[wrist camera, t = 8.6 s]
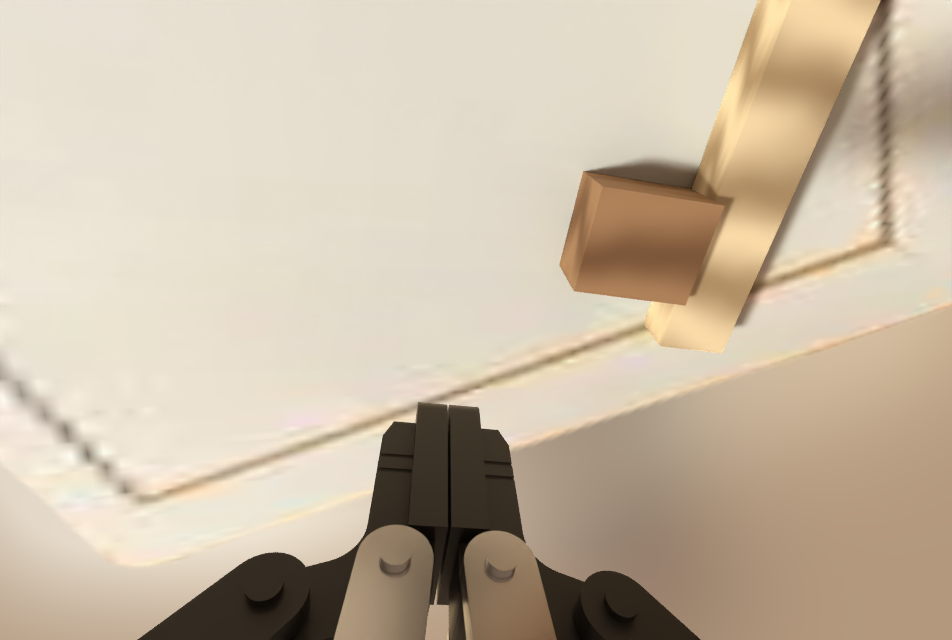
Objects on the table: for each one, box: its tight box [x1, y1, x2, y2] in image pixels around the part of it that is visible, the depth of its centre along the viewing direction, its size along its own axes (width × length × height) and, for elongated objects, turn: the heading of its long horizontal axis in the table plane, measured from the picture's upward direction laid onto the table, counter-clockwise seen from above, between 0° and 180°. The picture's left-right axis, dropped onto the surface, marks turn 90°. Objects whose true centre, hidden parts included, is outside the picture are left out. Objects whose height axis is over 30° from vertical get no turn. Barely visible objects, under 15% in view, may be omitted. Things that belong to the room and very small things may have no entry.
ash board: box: [644, 0, 881, 353], centre depth 33 cm, size 24×5×4 cm, turn 171°
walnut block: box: [560, 171, 725, 306], centre depth 34 cm, size 7×8×5 cm
